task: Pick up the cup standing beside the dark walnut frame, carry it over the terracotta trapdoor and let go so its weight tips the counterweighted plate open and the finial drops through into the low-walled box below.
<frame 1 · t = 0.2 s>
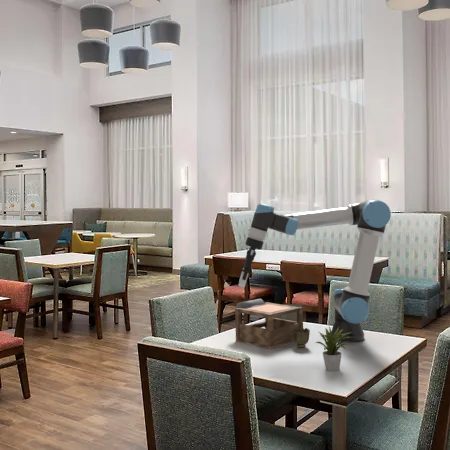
hand: (241, 284, 245), 28 cm above the table, tool tilted 20°, fingers open, 13 cm apart
cup: (301, 348, 244), on the table
house plant: (332, 370, 209), on the table
laptop: (282, 328, 285), on the table
trapdoor frame: (269, 340, 258), on the table
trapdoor: (263, 307, 260), point 15 cm above the table, hinge at 0.0°
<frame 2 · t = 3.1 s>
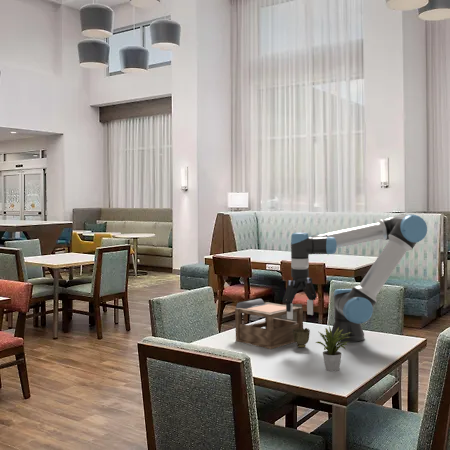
hand: (300, 316, 243), 13 cm above the table, tool pointing down, fingers open, 13 cm apart
nothing on the table moved.
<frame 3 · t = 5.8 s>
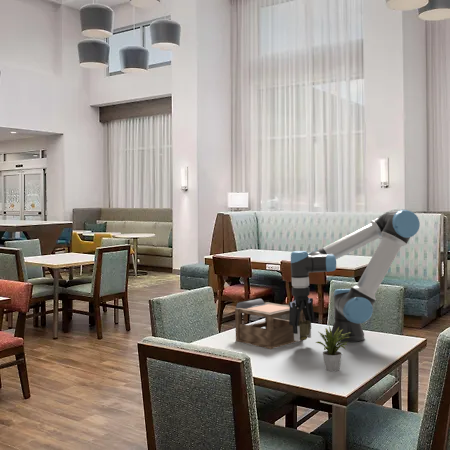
hand: (302, 338, 244), 4 cm above the table, tool pointing down, fingers closed on cup, 7 cm apart
cup: (302, 340, 244), point 3 cm above the table, touching gripper
everything else where it was.
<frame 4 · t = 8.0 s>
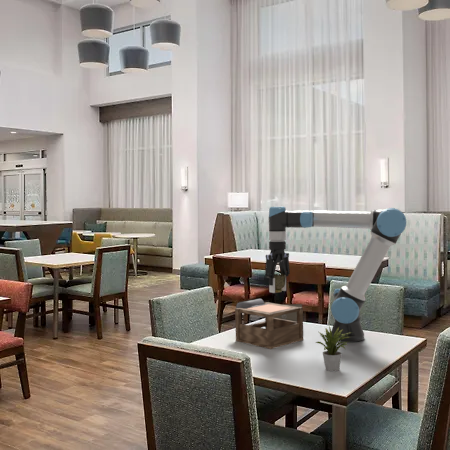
hand: (277, 291, 252), 23 cm above the table, tool pointing down, fingers closed on cup, 7 cm apart
cup: (277, 292, 252), point 23 cm above the table, touching gripper
everything else where it was.
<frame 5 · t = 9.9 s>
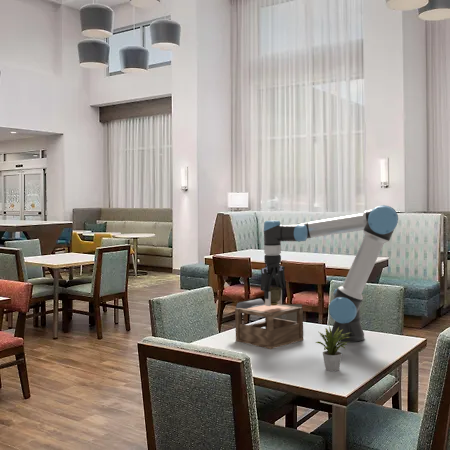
hand: (273, 304, 255), 17 cm above the table, tool pointing down, fingers closed on cup, 7 cm apart
cup: (273, 305, 255), point 17 cm above the table, touching gripper
everything else where it was.
when the fingers open (17 cm above the table, at t = 10.2 s): cup drops 15 cm, resting on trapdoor, trapdoor frame.
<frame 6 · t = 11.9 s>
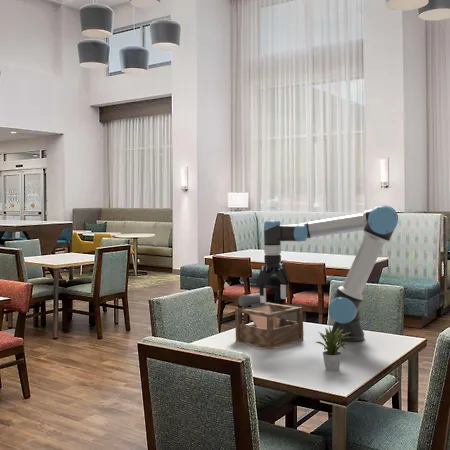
hand: (273, 300, 255), 19 cm above the table, tool pointing down, fingers open, 13 cm apart
cup: (281, 337, 254), point 2 cm above the table, touching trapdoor, trapdoor frame
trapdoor: (261, 313, 261), point 12 cm above the table, hinge at -46.6°, touching cup
everything else where it was.
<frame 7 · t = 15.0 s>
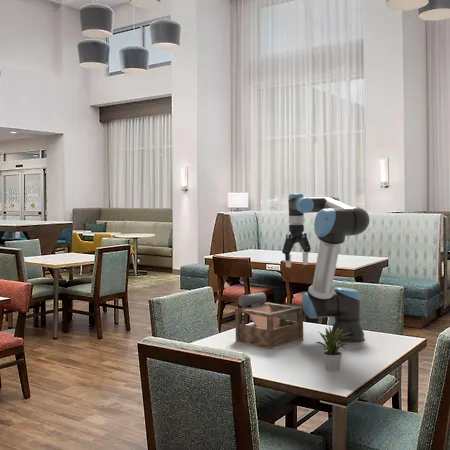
hand: (297, 265, 284), 31 cm above the table, tool pointing down, fingers open, 13 cm apart
nothing on the table moved.
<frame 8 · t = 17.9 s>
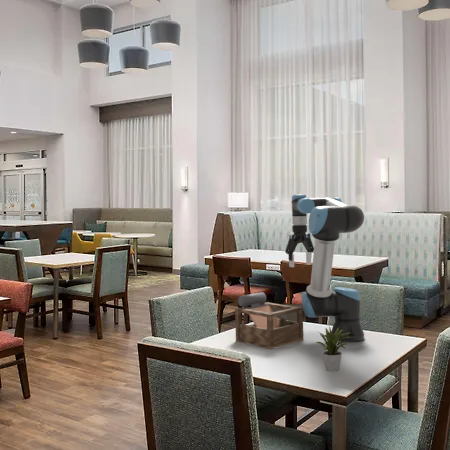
hand: (300, 265, 288), 31 cm above the table, tool pointing down, fingers open, 13 cm apart
nothing on the table moved.
at the end: cup point 1.9 cm above the table; cup inside the target area on the trapdoor frame (6.2 cm from its centre), point 1.9 cm above the trapdoor frame's base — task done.
